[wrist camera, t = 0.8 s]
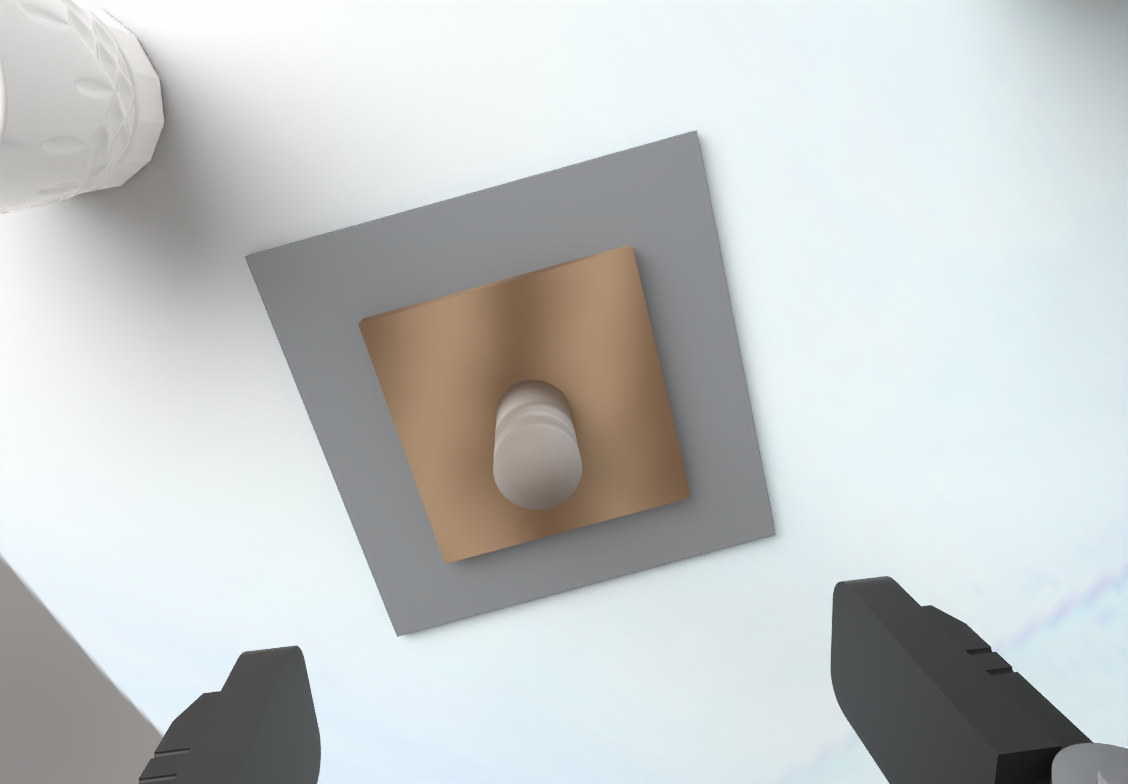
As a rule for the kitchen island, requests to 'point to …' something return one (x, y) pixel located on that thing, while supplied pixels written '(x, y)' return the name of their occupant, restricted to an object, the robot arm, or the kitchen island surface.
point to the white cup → (71, 102)
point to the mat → (489, 254)
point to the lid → (530, 404)
